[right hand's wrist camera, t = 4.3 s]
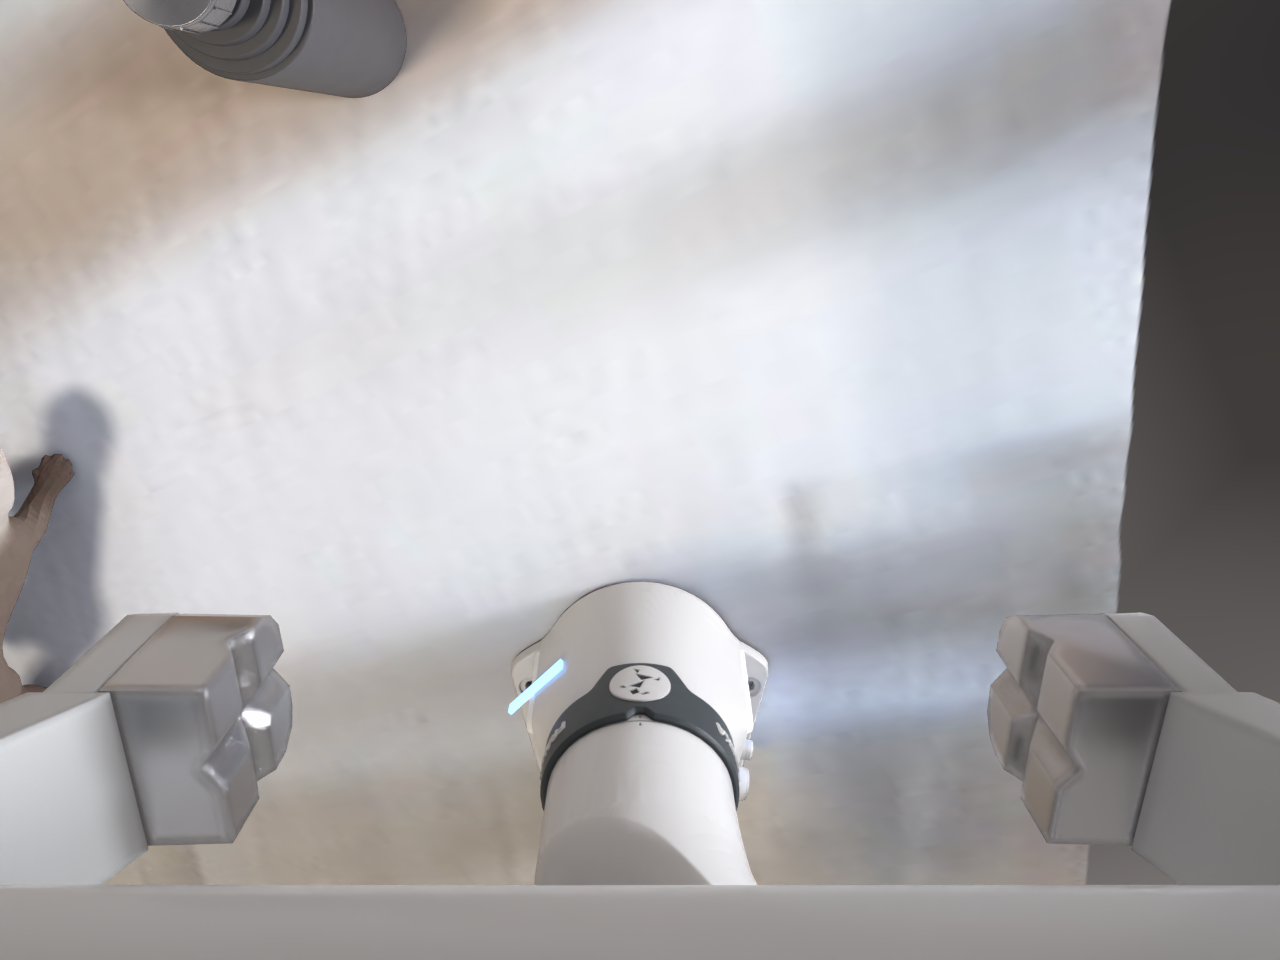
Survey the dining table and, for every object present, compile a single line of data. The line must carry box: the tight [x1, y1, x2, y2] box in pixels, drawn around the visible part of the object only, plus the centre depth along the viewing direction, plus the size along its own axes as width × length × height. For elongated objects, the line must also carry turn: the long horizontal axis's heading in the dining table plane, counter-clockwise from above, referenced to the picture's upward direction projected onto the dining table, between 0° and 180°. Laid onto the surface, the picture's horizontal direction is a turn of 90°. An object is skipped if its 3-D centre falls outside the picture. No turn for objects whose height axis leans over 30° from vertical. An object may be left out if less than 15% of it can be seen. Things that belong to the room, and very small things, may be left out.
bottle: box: [164, 0, 406, 98], centre depth 41 cm, size 7×7×21 cm
